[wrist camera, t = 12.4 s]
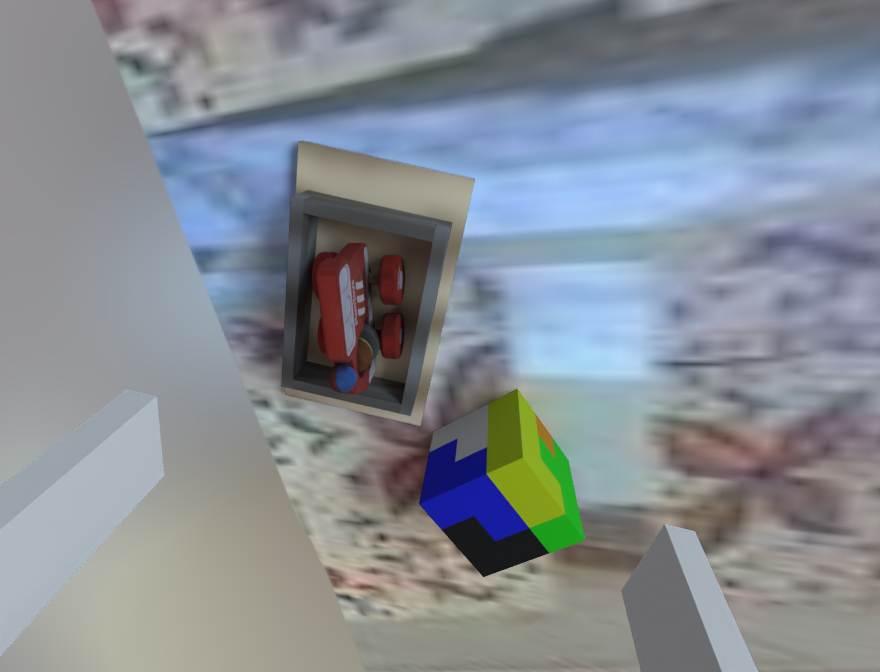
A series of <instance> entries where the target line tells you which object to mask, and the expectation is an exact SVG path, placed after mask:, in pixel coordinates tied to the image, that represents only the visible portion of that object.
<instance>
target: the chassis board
mask: <svg viewBox="0 0 880 672" xmlns="http://www.w3.org/2000/svg"><path fill="white" fill-rule="evenodd" d="M474 182H475V179H473V178H469V177H464V176H460V175H455V174H451V173H446V172H442V171H437V170H433V169H428V168H424V167H419V166H415V165H410V164H406V163H401V162H397V161H392V160H388V159H383V158H379V157H374V156H370V155H365V154H361V153H356V152H352V151H347V150H343V149H338V148H334V147H329V146H325V145H320V144H316V143H311V142H307V141H299V142H298V161H297V179H296V195H294V196H291V202H290V223H289V243H288V263H287V283H286V303H285V324H284V344H283V364H282V384H281V387H285V395H288V396H292V397H297V398H301V399H306V400H310V401H314V402H319V403H323V404H327V405H332V406H336V407H340V408H345V409H349V410H353V411H358V412H362V413H366V414H371V415H375V416H379V417H384V418H388V419H392V420H397V421H401V422H406V423H410V424H414V425H419V426H421V422H422V417H423V413H424V408H425V404H426V399H427V395H428V390H429V385H430V381H431V376H432V372H433V367H434V363H435V358H436V354H437V349H438V345H439V340H440V336H441V331H442V327H443V322H444V318H445V313H446V308H447V304H448V299H449V295H450V290H451V286H452V281H453V277H454V272H455V268H456V263H457V259H458V254H459V250H460V245H461V241H462V236H463V231H464V227H465V222H466V218H467V213H468V209H469V204H470V200H471V195H472V191H473V186H474ZM348 243H365V244H366V245H367V247H368V254H369V264H370V269H371V273H379V269H380V262H381V259H382V257H383V256H385V255H399V256H401V257H402V259H403V262H404V268H405V288H404V295H403V299H402V302H401V303H400V304H399V305H384V304H383V303H382V301H381V299H380V292H379V287H378V285H371V296H372V308H373V321H374V325H375V329H381V325H382V321H383V317H384V315H385V314H386V313H400V314H402V316H403V319H404V344H403V350H402V354H401V356H400V358H398V359H385V358H384V357H383V356H382V354H381V349H380V350H379V352H378V354H377V356H376V368H375V373H374V375H373V377H372V380H371V382H370V385H369V387H368V389H367V390H365V391H363V392H360V393H358V394H355V395H354V394H343V393H339V392H336V391H334V390H333V389H332V388H331V387H330V385H329V382H328V377H329V373H330V371H331V370H332V368H333V367H334V362H331V361H329V360H328V359H327V357H326V355H325V354H322V353H321V351H320V348H319V345H318V339H317V337H318V336H317V333H318V325H319V320H320V317H321V313H320V304H319V300H318V299H317V297H316V295H315V293H314V289H313V283H312V270H313V264H314V261H315V258H316V256H317V255H318V254H319V253H321V252H336V253H339V252H340V251H341V250H342V249H343V248H344V247H345V246H346V245H347V244H348Z"/></svg>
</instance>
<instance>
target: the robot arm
mask: <svg viewBox="0 0 880 672" xmlns="http://www.w3.org/2000/svg"><path fill="white" fill-rule="evenodd" d="M163 476H164V469H163V459H162V448H161V438H160V426H159V416H158V405H157V396H153V395H149V394H145V393H141V392H137V391H133V390H129V389H127V390H125V391H124V392H123V393H121V394H120V395H119V396H118V397H116V398H115V399H114V400H112V401H111V402H110V403H108V404H107V405H106V406H104V407H103V408H102V409H101V410H99V411H98V412H97V413H95V414H94V415H93V416H91V417H90V418H89V419H87V420H86V421H85V422H84V423H82V424H81V425H80V426H78V427H77V428H76V429H74V430H73V431H72V432H70V433H69V434H68V435H67V436H65V437H64V438H63V439H61V440H60V441H59V442H57V443H56V444H55V445H53V446H52V447H51V448H50V449H48V450H47V451H46V452H44V453H43V454H42V455H41V456H39V457H38V458H37V459H35V460H34V461H33V462H31V463H30V464H29V465H27V466H26V467H25V468H23V469H22V470H21V471H20V472H18V473H17V474H16V475H15V476H13V477H12V478H10V479H9V480H8V481H6V482H5V483H4V484H2V485H1V486H0V656H1V655H2V653H3V652H4V651H5V650H6V649H7V648H8V647H9V646H10V645H11V644H12V643H13V641H14V640H15V639H16V638H17V637H18V636H19V635H20V634H21V633H22V632H23V630H24V629H25V628H26V627H27V626H28V625H29V624H30V623H31V622H32V620H33V619H34V618H35V617H36V616H37V615H38V614H39V613H40V612H41V611H42V609H43V608H44V607H45V606H46V605H47V604H48V603H49V601H51V600H52V598H53V597H54V596H55V595H56V594H57V593H58V592H59V591H60V590H61V588H62V587H63V586H64V585H65V584H66V583H67V582H68V581H69V580H70V579H71V577H72V576H73V575H74V574H75V573H76V572H77V571H78V570H79V568H81V566H82V565H83V564H84V563H85V562H86V561H87V560H88V559H89V558H90V556H91V555H92V554H93V553H94V552H95V551H96V550H97V549H98V548H99V547H100V545H101V544H102V543H103V542H104V541H105V540H106V539H107V538H108V537H109V536H110V534H111V533H112V532H113V531H114V530H115V529H116V528H117V527H118V526H119V524H120V523H121V522H122V521H123V520H124V519H125V518H126V517H127V516H128V515H129V513H130V512H131V511H132V510H133V509H134V508H135V507H136V506H137V504H139V502H140V501H141V500H142V499H143V498H144V497H145V496H146V495H147V494H148V492H149V491H150V490H151V489H152V488H153V487H154V486H155V485H156V484H157V483H158V481H159V480H160V479H161V478H162V477H163ZM621 591H622V595H623V599H624V604H625V608H626V612H627V616H628V620H629V624H630V628H631V632H632V636H633V640H634V644H635V648H636V653H637V657H638V661H639V665H640V669H641V672H758V671H757V669H756V667H755V664H754V662H753V660H752V658H751V656H750V653H749V651H748V649H747V647H746V644H745V642H744V640H743V638H742V635H741V633H740V631H739V629H738V627H737V624H736V622H735V620H734V618H733V615H732V613H731V611H730V609H729V607H728V604H727V602H726V600H725V598H724V595H723V593H722V591H721V589H720V587H719V584H718V582H717V580H716V578H715V575H714V573H713V571H712V569H711V567H710V564H709V562H708V560H707V558H706V555H705V553H704V551H703V549H702V547H701V544H700V542H699V540H698V538H697V535H696V533H695V531H691V530H687V529H683V528H679V527H675V526H671V525H667V524H664V526H663V527H662V529H661V531H660V532H659V534H658V535H657V537H656V538H655V540H654V541H653V543H652V544H651V546H650V547H649V549H648V551H647V552H646V554H645V555H644V557H643V558H642V560H641V561H640V563H639V564H638V566H637V567H636V569H635V570H634V572H633V574H632V575H631V577H630V578H629V580H628V581H627V583H626V584H625V586H624V587H623V589H622V590H621Z"/></svg>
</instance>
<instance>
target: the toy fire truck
mask: <svg viewBox="0 0 880 672" xmlns="http://www.w3.org/2000/svg"><path fill="white" fill-rule="evenodd" d="M312 283H313V289H314V293H315V295H316V297H317V299H318V300H319V304H320V313H321V317H320V320H319V325H318V333H317V336H318V337H317V339H318V345H319V348H320V351H321V353H322V354H325V355H326V357H327V359H328V360H329V361H331V362H334V367H333V368H332V370H331V371H330V373H329V377H328V382H329V385H330V387H331V388H332V389H333V390H334V391H336V392H339V393H343V394H354V395H355V394H358V393H360V392H363V391H365V390H367V389H368V387H369V385H370V382H371V380H372V377H373V375H374V373H375V368H376V356H377V354H378V352H379V350H380V349H381V354H382V356H383V357H384V358H385V359H398V358H400V356H401V354H402V350H403V344H404V319H403V316H402V314H400V313H386V314H385V315H384V317H383V321H382V325H381V329H375V325H374V321H373V308H372V296H371V285H378V287H379V292H380V299H381V301H382V303H383V304H384V305H399V304H400V303H401V302H402V299H403V295H404V288H405V268H404V262H403V259H402V257H401V256H399V255H385V256H383V257H382V259H381V262H380V269H379V273H371V269H370V264H369V254H368V247H367V245H366V244H365V243H348V244H347V245H346V246H345V247H344V248H343V249H342V250H341V251H340V252H339V253H336V252H321V253H319V254H318V255H317V256H316V258H315V261H314V264H313V270H312Z"/></svg>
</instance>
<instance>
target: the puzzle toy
mask: <svg viewBox="0 0 880 672" xmlns="http://www.w3.org/2000/svg"><path fill="white" fill-rule="evenodd" d="M419 505H420V506H421V507H422V508H423V509H424V510H425V512H426V513H427V514H428V515H429V516H430V517H431V518H432V519H433V521H434V522H435V523H436V524H437V525H438V526H439V527H440V528H441V530H442V531H443V532H444V533H445V534H446V535H447V536H448V538H449V539H450V540H451V541H452V542H453V543H454V544H455V545H456V547H457V548H458V549H459V550H460V551H461V552H462V553H463V554H464V556H465V557H466V558H467V559H468V560H469V561H470V562H471V563H472V565H473V566H474V567H475V568H476V569H477V570H478V571H479V573H480V574H481V575H482V576H483V577H485V576H488V575H490V574H493V573H496V572H499V571H502V570H504V569H507V568H510V567H513V566H515V565H518V564H521V563H524V562H526V561H529V560H532V559H535V558H537V557H540V556H543V555H546V554H548V553H551V552H554V551H557V550H559V549H562V548H565V547H568V546H570V545H573V544H576V543H579V542H581V541H584V540H585V538H584V533H583V528H582V524H581V519H580V514H579V509H578V504H577V500H576V495H575V490H574V485H573V481H572V476H571V471H570V466H569V461H568V459H567V458H566V456H565V455H564V454H563V452H562V451H561V449H560V448H559V447H558V445H557V444H556V442H555V441H554V440H553V438H552V437H551V435H550V434H549V432H548V431H547V430H546V428H545V427H544V425H543V424H542V423H541V421H540V420H539V418H538V417H537V416H536V414H535V413H534V411H533V410H532V409H531V407H530V406H529V404H528V403H527V401H526V400H525V399H524V397H523V396H522V394H521V393H520V392H519V390H518V389H517V390H515V391H513V392H511V393H509V394H507V395H505V396H503V397H501V398H499V399H497V400H495V401H493V402H491V403H489V404H487V405H485V406H483V407H481V408H479V409H477V410H475V411H473V412H471V413H469V414H467V415H465V416H463V417H461V418H459V419H457V420H455V421H453V422H452V423H450V424H448V425H446V426H444V427H442V428H440V429H438V430H436V431H434V432H433V437H432V442H431V447H430V452H429V457H428V462H427V467H426V472H425V477H424V482H423V487H422V492H421V497H420V502H419Z"/></svg>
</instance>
